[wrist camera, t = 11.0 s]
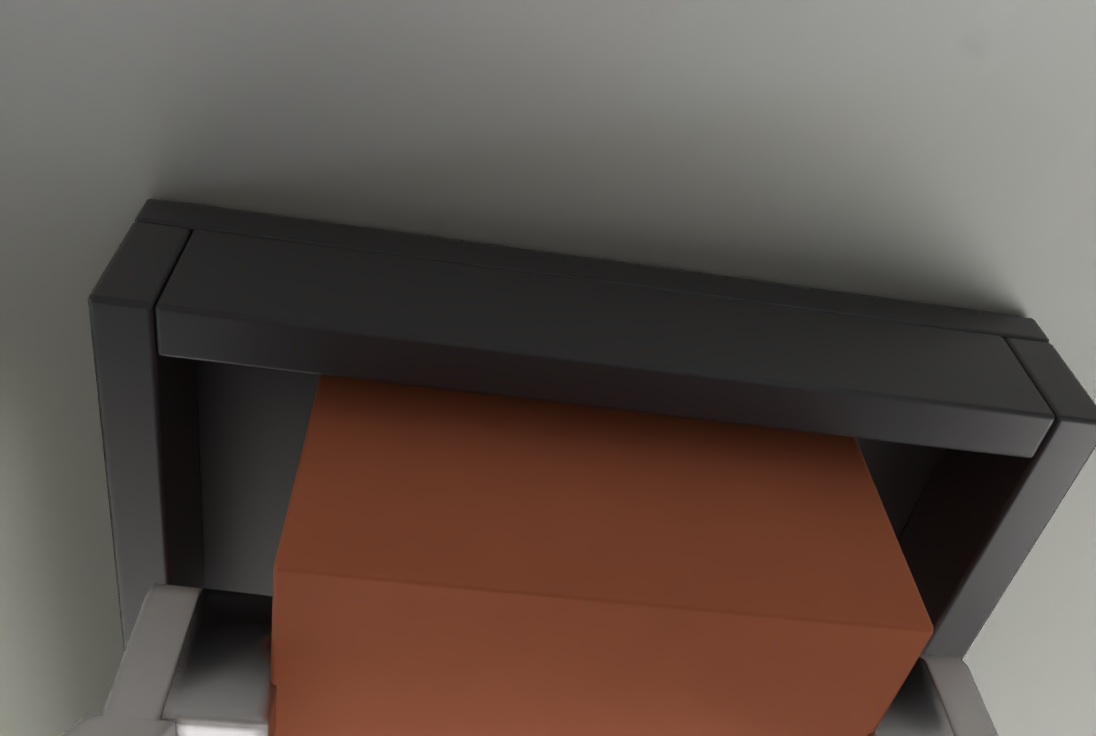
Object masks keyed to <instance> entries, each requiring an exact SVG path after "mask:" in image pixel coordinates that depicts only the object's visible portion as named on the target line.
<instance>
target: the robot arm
mask: <svg viewBox="0 0 1096 736" xmlns="http://www.w3.org/2000/svg"><path fill="white" fill-rule="evenodd" d="M272 603H273V596H267V595H259V594H250V593H242V592H233V591H224V590H216V589H207V588H196V587H186V586H177V585H167V584H158V583H154V585H153V586H152V587H151V589H150V590H149V592H148V593H147V594H146V596H145V598H144V601H143V604H142V607H141V609H140V612H139V615H138V617H137V620H136V623H135V626H134V628H133V631H132V634H131V636H130V639H129V642H128V644H127V647H126V650H125V653H124V655H123V658H122V661H121V663H120V666H119V669H118V672H117V674H116V677H115V680H114V682H113V685H112V688H111V691H110V693H109V696H108V699H107V701H106V704H105V707H104V709H103V712H102V715H85V716H84V717H83V718H82V719H80V720H79V721H78V722H77V723H76V724H74V725H73V726H72V727H71V728H69V729H68V730H67V731H66V732H64V733H63V734H62V735H61V736H274V734H275V729H276V701H277V685H274V684H272V683H271V642H272ZM867 736H998V734H997V731H996V729H995V727H994V725H993V722H992V720H991V718H990V715H989V713H988V711H987V709H986V706H985V704H984V702H983V700H982V697H981V695H980V693H979V691H978V688H977V686H976V684H975V681H974V679H973V677H972V675H971V672H970V670H969V668H968V666H967V665H966V664H965V663H964V662H963V661H962V660H961V659H960V658H958V657H947V656H936V655H925V654H920V656H919V657H918V659H917V661H916V663H915V664H914V666H913V668H912V669H911V671H910V673H909V674H908V676H907V678H906V679H905V681H904V683H903V685H902V686H901V688H900V690H899V691H898V693H897V695H896V696H895V698H894V700H893V701H892V703H891V705H890V707H889V708H888V710H887V712H886V713H885V715H884V717H883V718H882V720H881V722H880V723H879V725H878V727H877V729H876V730H875V732H873V733H869V734H868V735H867Z"/></svg>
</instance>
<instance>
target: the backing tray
mask: <svg viewBox="0 0 1096 736" xmlns="http://www.w3.org/2000/svg"><path fill="white" fill-rule="evenodd" d="M88 304H89V314H90V324H91V333H92V343H93V353H94V363H95V372H96V382H97V392H98V401H99V411H100V421H101V430H102V440H103V450H104V459H105V469H106V479H107V488H108V498H109V508H110V517H111V527H112V537H113V547H114V556H115V566H116V576H117V585H118V595H119V605H120V614H121V624H122V634H123V643H124V653H125V650H126V647H127V644H128V642H129V639H130V636H131V634H132V631H133V628H134V626H135V623H136V620H137V617H138V615H139V612H140V609H141V607H142V604H143V601H144V598H145V596H146V594H147V593H148V592H149V590H150V589H151V587H152V586H153V585H154V583H158V584H167V585H177V586H186V587H196V588H207V589H216V590H224V591H233V592H242V593H250V594H259V595H267V596H273V567H274V563H275V559H276V555H277V551H278V547H279V542H280V538H281V534H282V530H283V526H284V522H285V518H286V514H287V510H288V506H289V502H290V497H291V493H292V489H293V485H294V481H295V477H296V473H297V469H298V465H299V461H300V457H301V452H302V448H303V444H304V440H305V436H306V432H307V428H308V424H309V420H310V416H311V412H312V407H313V403H314V399H315V395H316V391H317V387H318V383H319V379H320V375H328V376H336V377H345V378H353V379H362V380H370V381H379V382H387V383H395V384H404V385H412V386H421V387H429V388H438V389H446V390H455V391H463V392H472V393H480V394H489V395H497V396H506V397H514V398H522V399H531V400H539V401H548V402H556V403H565V404H573V405H582V406H590V407H599V408H607V409H616V410H624V411H632V412H641V413H649V414H658V415H666V416H675V417H683V418H692V419H700V420H709V421H717V422H726V423H734V424H743V425H751V426H759V427H768V428H776V429H785V430H793V431H802V432H810V433H819V434H827V435H836V436H844V437H853V438H855V439H856V441H857V443H858V446H859V448H860V451H861V453H862V455H863V458H864V460H865V463H866V465H867V468H868V470H869V472H870V475H871V477H872V480H873V482H874V484H875V487H876V489H877V492H878V494H879V497H880V499H881V501H882V504H883V506H884V509H885V511H886V513H887V516H888V518H889V521H890V523H891V526H892V528H893V530H894V533H895V535H896V538H897V540H898V543H899V545H900V547H901V550H902V552H903V555H904V557H905V559H906V562H907V564H908V567H909V569H910V572H911V574H912V576H913V579H914V581H915V584H916V586H917V588H918V591H919V593H920V596H921V598H922V601H923V603H924V605H925V608H926V610H927V613H928V615H929V618H930V620H931V622H932V625H933V634H932V635H931V637H930V639H929V640H928V642H927V644H926V646H925V647H924V649H923V651H922V652H921V654H925V655H936V656H947V657H958V658H960V659H961V660H962V658H963V657H964V655H965V654H966V652H967V651H968V649H969V647H970V646H971V644H972V643H973V641H974V639H975V638H976V636H977V635H978V633H979V631H980V630H981V628H982V627H983V625H984V623H985V622H986V620H987V619H988V617H989V616H990V614H991V612H992V611H993V609H994V608H995V606H996V604H997V603H998V601H999V600H1000V598H1001V596H1002V595H1003V593H1004V592H1005V590H1006V588H1007V587H1008V585H1009V584H1010V582H1011V580H1012V579H1013V577H1014V576H1015V574H1016V573H1017V571H1018V569H1019V568H1020V566H1021V565H1022V563H1023V561H1024V560H1025V558H1026V557H1027V555H1028V553H1029V552H1030V550H1031V549H1032V547H1033V545H1034V544H1035V542H1036V541H1037V539H1038V538H1039V536H1040V534H1041V533H1042V531H1043V530H1044V528H1045V526H1046V525H1047V523H1048V522H1049V520H1050V518H1051V517H1052V515H1053V514H1054V512H1055V510H1056V509H1057V507H1058V506H1059V504H1060V502H1061V501H1062V499H1063V498H1064V496H1065V495H1066V493H1067V491H1068V490H1069V488H1070V487H1071V485H1072V483H1073V482H1074V480H1075V479H1076V477H1077V475H1078V474H1079V472H1080V471H1081V469H1082V467H1083V466H1084V464H1085V463H1086V461H1087V460H1088V458H1089V456H1090V455H1091V453H1092V452H1093V450H1094V448H1095V447H1096V405H1095V403H1094V402H1093V400H1092V399H1091V398H1090V396H1089V395H1088V394H1087V392H1086V391H1085V389H1084V388H1083V387H1082V385H1081V384H1080V383H1079V381H1078V380H1077V378H1076V377H1075V376H1074V374H1073V373H1072V372H1071V370H1070V369H1069V367H1068V366H1067V365H1066V363H1065V362H1064V361H1063V359H1062V358H1061V356H1060V355H1059V354H1058V352H1057V351H1056V350H1055V348H1054V347H1053V345H1051V344H1050V343H1049V339H1048V338H1047V337H1046V335H1045V334H1044V332H1043V331H1042V330H1041V328H1040V327H1039V326H1038V324H1037V323H1036V321H1035V320H1033V319H1031V318H1025V317H1018V316H1010V315H1003V314H996V313H988V312H981V311H973V310H966V309H959V308H951V307H944V306H937V305H929V304H922V303H915V302H907V301H900V300H892V299H885V298H878V297H870V296H863V295H856V294H848V293H841V292H834V291H826V290H819V289H811V288H804V287H797V286H789V285H782V284H775V283H767V282H760V281H753V280H745V279H738V278H730V277H723V276H716V275H708V274H701V273H694V272H686V271H679V270H672V269H664V268H657V267H650V266H642V265H635V264H627V263H620V262H613V261H605V260H598V259H591V258H583V257H576V256H569V255H561V254H554V253H546V252H539V251H532V250H524V249H517V248H510V247H502V246H495V245H488V244H480V243H473V242H465V241H458V240H451V239H443V238H436V237H429V236H421V235H414V234H407V233H399V232H392V231H384V230H377V229H370V228H362V227H355V226H348V225H340V224H333V223H326V222H318V221H311V220H304V219H296V218H289V217H281V216H274V215H267V214H259V213H252V212H245V211H237V210H230V209H223V208H215V207H208V206H200V205H193V204H186V203H178V202H171V201H164V200H156V199H148V200H147V201H146V203H145V204H144V206H143V208H142V209H141V211H140V213H139V214H138V216H137V217H136V220H135V223H133V225H132V226H131V228H130V230H129V231H128V233H127V235H126V236H125V238H124V240H123V241H122V243H121V244H120V246H119V248H118V249H117V251H116V253H115V254H114V256H113V258H112V259H111V261H110V262H109V264H108V266H107V267H106V269H105V271H104V272H103V274H102V276H101V277H100V279H99V281H98V282H97V284H96V285H95V287H94V289H93V290H92V292H91V294H90V295H89V298H88Z"/></svg>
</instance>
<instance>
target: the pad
mask: <svg viewBox="0 0 1096 736" xmlns="http://www.w3.org/2000/svg"><path fill="white" fill-rule="evenodd" d="M932 634H933V625H932V622H931V620H930V618H929V615H928V613H927V610H926V608H925V605H924V603H923V601H922V598H921V596H920V593H919V591H918V588H917V586H916V584H915V581H914V579H913V576H912V574H911V572H910V569H909V567H908V564H907V562H906V559H905V557H904V555H903V552H902V550H901V547H900V545H899V543H898V540H897V538H896V535H895V533H894V530H893V528H892V526H891V523H890V521H889V518H888V516H887V513H886V511H885V509H884V506H883V504H882V501H881V499H880V497H879V494H878V492H877V489H876V487H875V484H874V482H873V480H872V477H871V475H870V472H869V470H868V468H867V465H866V463H865V460H864V458H863V455H862V453H861V451H860V448H859V446H858V443H857V441H856V439H855V438H853V437H844V436H836V435H827V434H819V433H810V432H802V431H793V430H785V429H776V428H768V427H759V426H751V425H743V424H734V423H726V422H717V421H709V420H700V419H692V418H683V417H675V416H666V415H658V414H649V413H641V412H632V411H624V410H616V409H607V408H599V407H590V406H582V405H573V404H565V403H556V402H548V401H539V400H531V399H522V398H514V397H506V396H497V395H489V394H480V393H472V392H463V391H455V390H446V389H438V388H429V387H421V386H412V385H404V384H395V383H387V382H379V381H370V380H362V379H353V378H345V377H336V376H328V375H320V379H319V383H318V387H317V391H316V395H315V399H314V403H313V407H312V412H311V416H310V420H309V424H308V428H307V432H306V436H305V440H304V444H303V448H302V452H301V457H300V461H299V465H298V469H297V473H296V477H295V481H294V485H293V489H292V493H291V497H290V502H289V506H288V510H287V514H286V518H285V522H284V526H283V530H282V534H281V538H280V542H279V547H278V551H277V555H276V559H275V563H274V567H273V603H272V642H271V683H272V684H274V685H277V701H276V729H275V734H274V736H867V735H868V734H869V733H873V732H875V730H876V729H877V727H878V725H879V723H880V722H881V720H882V718H883V717H884V715H885V713H886V712H887V710H888V708H889V707H890V705H891V703H892V701H893V700H894V698H895V696H896V695H897V693H898V691H899V690H900V688H901V686H902V685H903V683H904V681H905V679H906V678H907V676H908V674H909V673H910V671H911V669H912V668H913V666H914V664H915V663H916V661H917V659H918V657H919V656H920V654H921V652H922V651H923V649H924V647H925V646H926V644H927V642H928V640H929V639H930V637H931V635H932Z"/></svg>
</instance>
